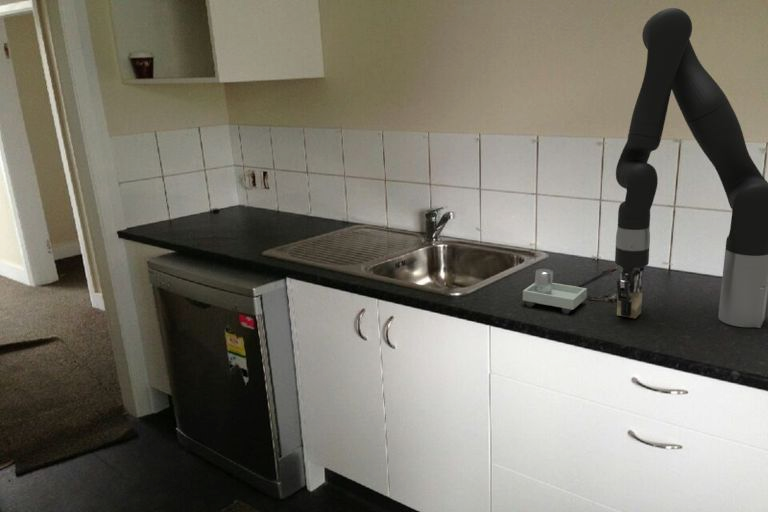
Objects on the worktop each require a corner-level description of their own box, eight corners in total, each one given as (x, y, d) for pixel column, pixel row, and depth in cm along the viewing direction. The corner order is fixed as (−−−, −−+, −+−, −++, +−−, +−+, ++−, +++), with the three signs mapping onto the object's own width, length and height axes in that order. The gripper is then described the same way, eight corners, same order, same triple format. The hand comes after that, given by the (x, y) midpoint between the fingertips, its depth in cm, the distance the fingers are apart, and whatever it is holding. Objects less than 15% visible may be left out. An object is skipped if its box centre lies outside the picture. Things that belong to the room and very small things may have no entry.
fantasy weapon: (560, 296, 175) (612, 307, 164) (560, 290, 174) (612, 300, 164) (613, 269, 193) (662, 277, 183) (613, 263, 193) (662, 271, 182)
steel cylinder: (554, 293, 168) (556, 271, 166) (545, 297, 165) (547, 275, 163) (540, 289, 171) (541, 267, 169) (531, 293, 168) (532, 271, 166)
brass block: (641, 312, 158) (642, 293, 156) (635, 318, 154) (636, 298, 153) (622, 309, 160) (623, 290, 159) (616, 315, 157) (617, 295, 155)
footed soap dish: (586, 303, 166) (587, 288, 165) (572, 315, 159) (573, 299, 158) (537, 294, 174) (538, 280, 173) (522, 306, 167) (522, 290, 166)
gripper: (640, 254, 145) (636, 325, 149) (657, 239, 155) (653, 305, 160) (606, 250, 149) (603, 319, 154) (625, 236, 160) (622, 300, 165)
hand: (629, 311), depth 157 cm, fingers closed on brass block, 4 cm apart
